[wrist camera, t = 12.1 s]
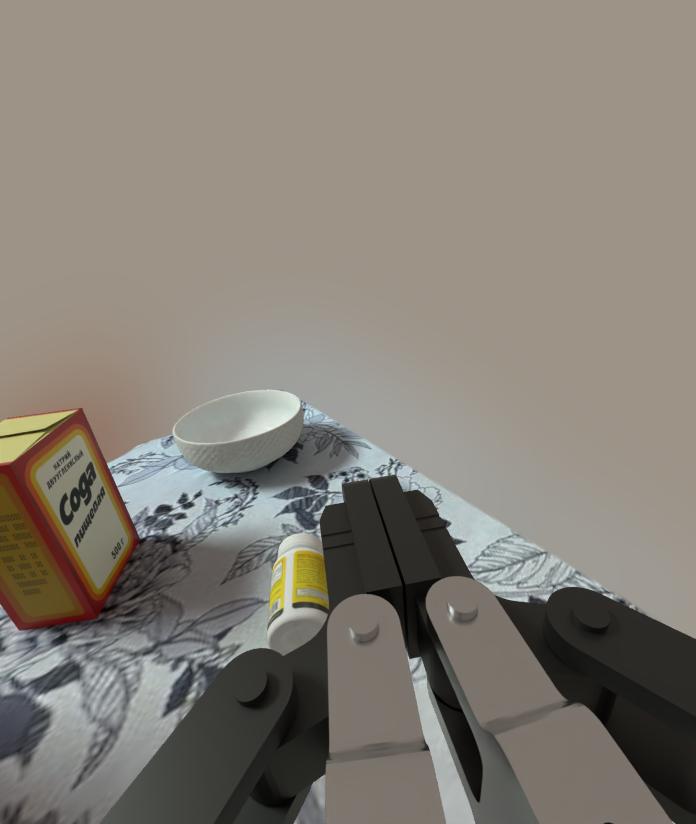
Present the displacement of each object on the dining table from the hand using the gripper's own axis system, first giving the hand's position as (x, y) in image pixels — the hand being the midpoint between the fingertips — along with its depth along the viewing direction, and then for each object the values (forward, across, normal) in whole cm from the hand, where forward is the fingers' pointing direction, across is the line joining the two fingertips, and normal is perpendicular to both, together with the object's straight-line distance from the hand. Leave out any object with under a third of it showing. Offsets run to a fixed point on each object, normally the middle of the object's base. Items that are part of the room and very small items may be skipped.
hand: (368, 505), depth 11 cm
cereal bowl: (+40, +11, +22) cm, 47 cm away
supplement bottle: (+9, +4, +18) cm, 21 cm away
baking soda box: (+22, +25, +21) cm, 39 cm away
